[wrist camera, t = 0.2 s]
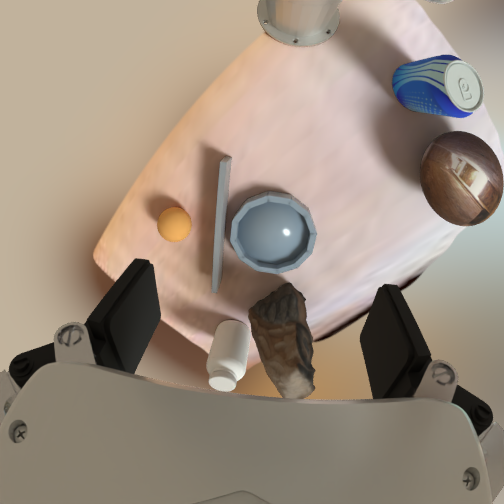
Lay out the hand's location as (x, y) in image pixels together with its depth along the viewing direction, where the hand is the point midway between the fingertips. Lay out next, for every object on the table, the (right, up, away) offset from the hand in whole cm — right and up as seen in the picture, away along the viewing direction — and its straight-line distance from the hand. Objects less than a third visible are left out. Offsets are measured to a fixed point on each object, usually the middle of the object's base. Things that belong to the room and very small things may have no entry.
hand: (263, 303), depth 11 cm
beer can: (+26, +29, +23) cm, 45 cm away
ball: (-14, +7, +36) cm, 39 cm away
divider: (-6, +7, +39) cm, 40 cm away
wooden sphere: (+33, +17, +29) cm, 47 cm away
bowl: (+3, +6, +38) cm, 39 cm away
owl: (+5, -9, +47) cm, 48 cm away
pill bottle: (-5, -16, +51) cm, 54 cm away
